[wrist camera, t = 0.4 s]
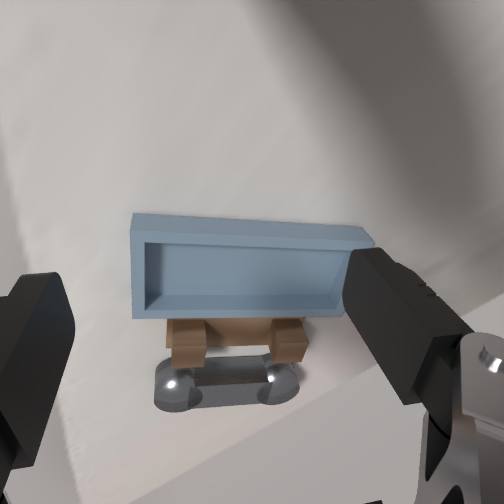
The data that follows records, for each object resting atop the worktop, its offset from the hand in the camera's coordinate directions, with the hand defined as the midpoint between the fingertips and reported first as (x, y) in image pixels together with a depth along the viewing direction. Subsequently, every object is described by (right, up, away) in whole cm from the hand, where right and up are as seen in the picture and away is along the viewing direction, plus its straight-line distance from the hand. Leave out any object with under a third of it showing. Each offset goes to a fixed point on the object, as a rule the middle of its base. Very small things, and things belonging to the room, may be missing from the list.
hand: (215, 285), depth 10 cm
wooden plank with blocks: (-1, -7, +26) cm, 27 cm away
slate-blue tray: (+1, 0, +22) cm, 22 cm away
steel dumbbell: (-2, -13, +31) cm, 33 cm away
